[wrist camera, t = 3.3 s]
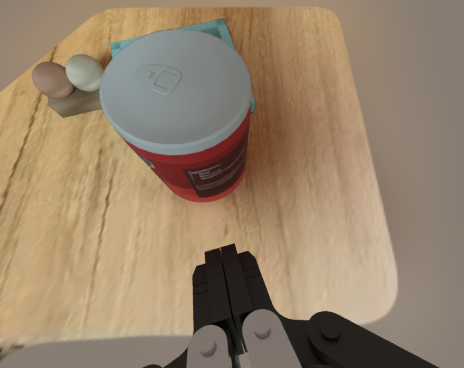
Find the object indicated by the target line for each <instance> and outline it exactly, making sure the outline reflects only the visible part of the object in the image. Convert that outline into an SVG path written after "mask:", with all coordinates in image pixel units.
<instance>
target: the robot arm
mask: <svg viewBox="0 0 464 368" xmlns="http://www.w3.org/2000/svg"><path fill="white" fill-rule="evenodd" d="M220 249H221V251H220ZM205 262H206V263H205V264H202V265H198V266H196V268H195V271H194V273H193V276H192V280H193V323H194V331H193V336H192V338H191V340H190V342H189V346H188V347H187V349H186V350H185V351H184V352H183V353H182V354H181V355H180V356H179V357H178V358H176V359H175V360H174V361H172V362H171V363H170V364H168V365H167V366H165V367H164V368H241V367H240V362H239V356H238V355H240V354H244V352H243V347H244V349H245V352H248V354H249V358H250V361H251V365H252V368H439V367H437V366H435V365H433V364H431V363H429V362H427V361H425V360H423V359H421V358H419V357H418V356H416V355H414V354H412V353H410V352H408V351H406V350H404V349H402V348H400V347H399V346H397V345H395V344H393V343H391V342H389V341H387V340H385V339H383V338H381V337H380V336H378V335H376V334H374V333H372V332H370V331H368V330H366V329H364V328H363V327H361V326H359V325H357V324H355V323H353V322H351V321H349V320H347V319H345V318H344V317H342V316H340V315H338V314H336V313H333V312H328V311H322V312H318V313H316V314H314V315H313V316H312V317H311V318H310V320H292V319H288V318H286V317H284V316H282V315H280V314H279V313H278V312H277V311H276V310H275V308H274V307H273V304H272V302H271V299H270V296H269V294H268V291H267V288H266V286H265V283H264V280H263V278H262V275H261V272H260V270H259V267H258V264H257V261H256V259H255V257H254V256H253V255H252V254H251V253H250V252H249V251H246V252H242V253H239V254H237V250H236V247H235V243H234V244H230V245H227V246H224V247H220V248H217V249H213V250H210V251H207V252H205ZM242 344H243V346H242ZM143 368H162V367H160V366H158V365H155V364H153V365H148V366H145V367H143Z"/></svg>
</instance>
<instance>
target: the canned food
mask: <svg viewBox="0 0 464 368" xmlns="http://www.w3.org/2000/svg"><path fill="white" fill-rule="evenodd" d="M99 93H100V103H101V106H102V108H103V111H104V114H105V115H106V117H107V118H108V120H109V121H110V123H111V124H112V126H113V127H114V129H115V130H116V132H117V133H118V134H119V135H120V136H121V137H122V138H123V139H124V140H125V142H126V143H127V144H128V145H129V146H130V147H131V148H132V149H133V150H134V151H135V153H136V154H137V155H138V156H139V157H140V158H141V159H142V160H143V161H144V162H145V163H146V164H147V165H148V166H149V167H150V168H151V169H152V170H153V171H154V173H155V174H156V175H157V176H158V177H159V178H160V179H161V180H162V181H163V182H164V183H165V184H166V185H167V186H168V187H169V188H170V189H171V190H172V191H173V192H174V193H175V194H177V195H178V196H180V197H182V198H184V199H187V200H189V201H194V202H210V201H215V200H218V199H220V198H223V197H225V196H226V195H228V194H229V193H231V192H232V191H233V190H234V189H235V188H236V187H237V186H238V184H239V183H240V181H241V179H242V177H243V174H244V170H245V161H246V151H247V141H248V131H249V121H250V111H251V95H252V92H251V81H250V74H249V71H248V68H247V66H246V63H245V62H244V60H243V59H242V57H241V56H240V54H239V53H238V52H237V51H236V50H235V49H234V48H233V47H232V46H231V45H229V44H228V43H226V42H225V41H223V40H222V39H220V38H218V37H216V36H213V35H211V34H209V33H205V32H201V31H197V30H189V29H168V30H163V31H157V32H154V33H151V34H148V35H144V36H142V37H140V38H138V39H136V40H134V41H132V42H131V43H129V44H128V45H126V46H125V47H124V48H122V49H121V50H120V51H119V52H118V53H117V54H116V55H115V56H114V57H113V58H112V59H111V61H110V62H109V64H108V65H107V67H106V68H105V71H104V73H103V76H102V78H101V83H100V90H99Z"/></svg>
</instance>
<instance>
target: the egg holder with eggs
mask: <svg viewBox="0 0 464 368" xmlns="http://www.w3.org/2000/svg"><path fill="white" fill-rule="evenodd" d="M104 71H105V69H103V68H102V66H101V65H100V63H99V62H98V61H97V60H95V59H94V58H92V57H90V56H88V55H83V54H79V55H74V56H72V57H71V58H70V59H69V60H68V61H67V63H66V68H65V67H63V66H61V65H59V64H57V63H54V62H42V63H40V64H38V65H37V66H36V67H35V68H34V69H33V72H32V80H33V83H34V85H35V86H36V88H37V89H38V90H39V91H40V92H41V93H43V94H44V95H46V96H48V106H49V107H51V108H52V109H53V110H54V111H56V112H57V113H58V114H59V115H60V116H62V117H63V118H64V117H69V116H73V115H77V114H81V113H85V112H89V111H94V110H98V109H102V106H101V103H100V93H99V90H100V83H101V78H102V76H103V73H104Z"/></svg>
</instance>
